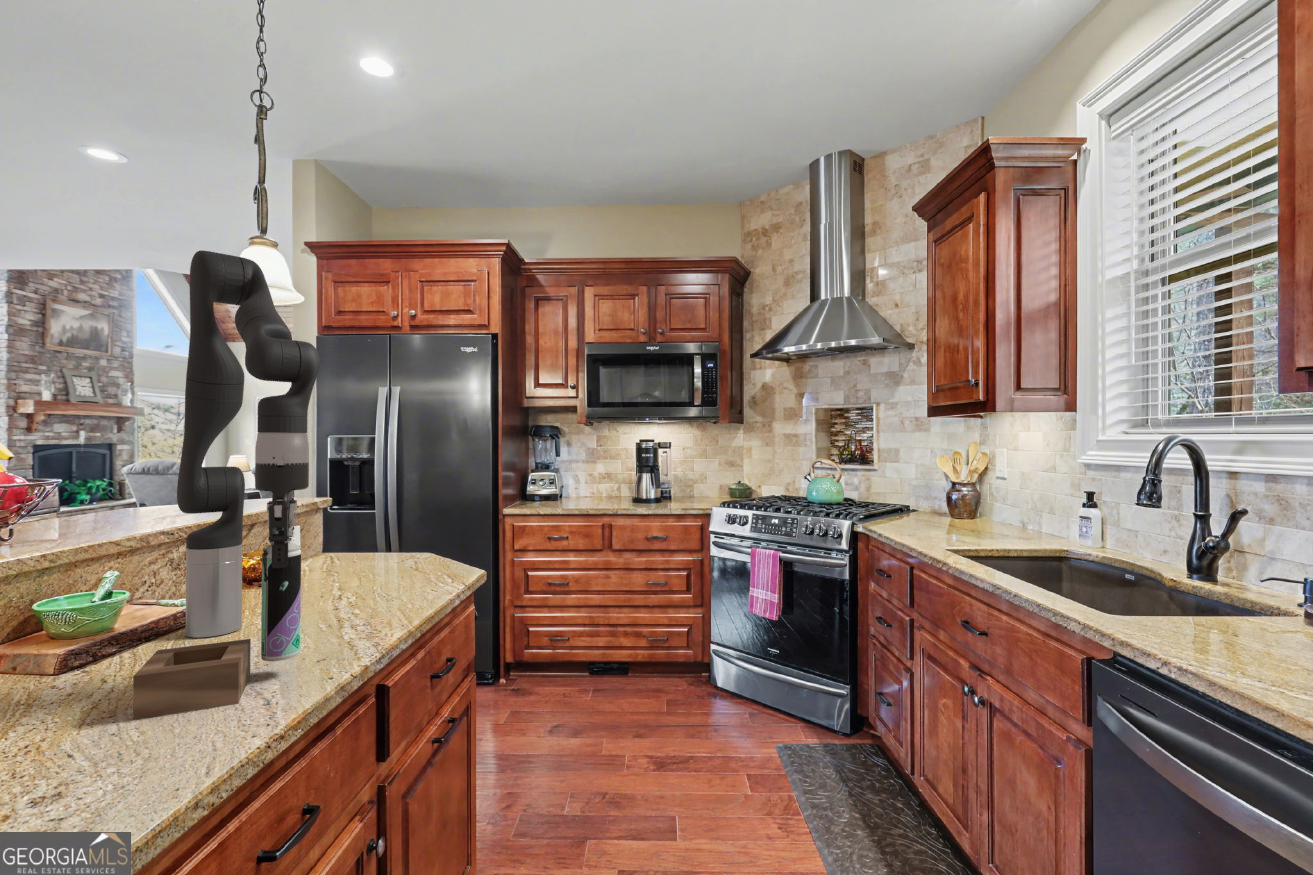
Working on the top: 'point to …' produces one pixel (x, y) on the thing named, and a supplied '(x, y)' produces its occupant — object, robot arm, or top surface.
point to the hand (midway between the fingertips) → (281, 563)
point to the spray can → (281, 606)
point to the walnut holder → (191, 678)
